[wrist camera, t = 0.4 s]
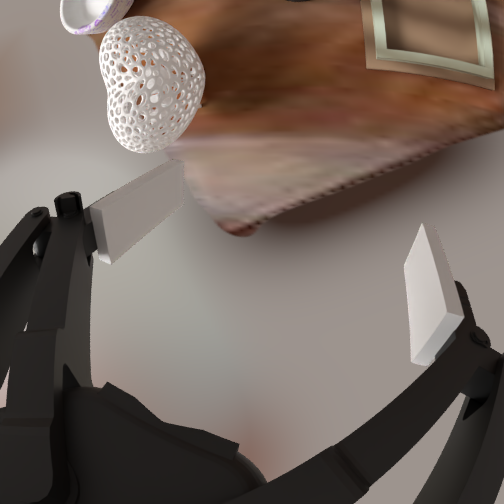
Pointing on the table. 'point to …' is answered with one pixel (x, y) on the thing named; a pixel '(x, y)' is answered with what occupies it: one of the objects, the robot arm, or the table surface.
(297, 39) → the table surface
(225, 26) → the table surface
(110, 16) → the paper bowls
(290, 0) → the container
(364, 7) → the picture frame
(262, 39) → the table surface
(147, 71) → the decorative heart
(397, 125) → the table surface
